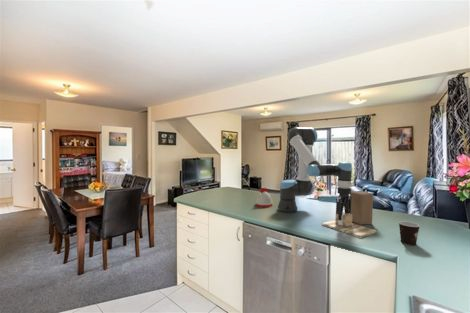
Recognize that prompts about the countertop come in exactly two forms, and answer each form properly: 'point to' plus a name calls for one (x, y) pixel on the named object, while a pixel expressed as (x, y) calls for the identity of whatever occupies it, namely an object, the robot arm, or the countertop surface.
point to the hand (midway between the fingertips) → (343, 224)
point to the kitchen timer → (264, 199)
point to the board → (351, 229)
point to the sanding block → (345, 219)
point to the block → (361, 207)
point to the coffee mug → (408, 232)
